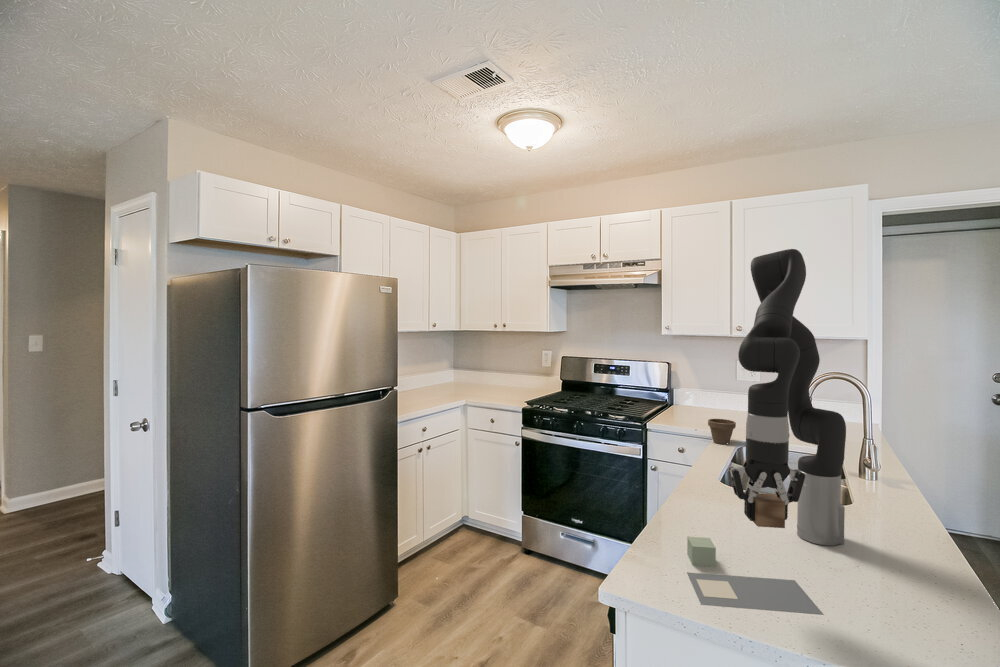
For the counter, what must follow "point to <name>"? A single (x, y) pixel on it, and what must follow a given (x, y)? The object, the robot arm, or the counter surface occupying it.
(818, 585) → the counter surface
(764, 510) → the walnut block
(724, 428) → the flower pot
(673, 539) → the counter surface
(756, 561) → the counter surface
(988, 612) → the counter surface
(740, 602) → the build mat
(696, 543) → the sage block
